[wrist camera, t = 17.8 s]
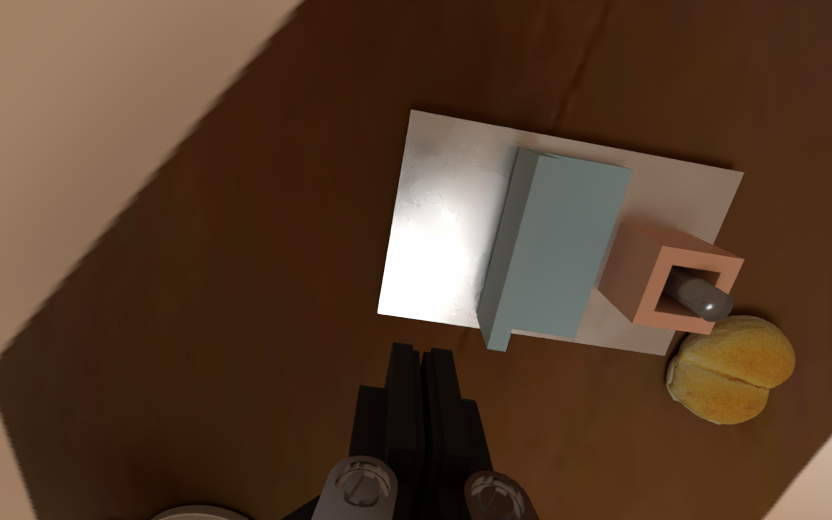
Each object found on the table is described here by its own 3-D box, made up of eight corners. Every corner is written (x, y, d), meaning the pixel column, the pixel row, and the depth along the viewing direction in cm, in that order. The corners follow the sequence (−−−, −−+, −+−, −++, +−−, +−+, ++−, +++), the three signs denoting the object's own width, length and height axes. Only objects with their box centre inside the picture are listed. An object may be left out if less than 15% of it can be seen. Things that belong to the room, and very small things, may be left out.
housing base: (378, 305, 32) (370, 370, 24) (410, 109, 27) (413, 112, 19) (655, 347, 34) (729, 419, 26) (731, 169, 29) (849, 194, 21)
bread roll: (793, 330, 34) (842, 359, 30) (723, 415, 37) (759, 451, 33) (708, 293, 32) (748, 318, 29) (642, 385, 35) (670, 418, 31)
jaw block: (597, 289, 31) (632, 323, 26) (620, 222, 29) (662, 245, 24) (663, 299, 31) (709, 334, 26) (689, 234, 29) (744, 259, 25)
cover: (476, 317, 31) (487, 348, 27) (519, 147, 27) (539, 155, 23) (569, 331, 31) (593, 364, 27) (625, 167, 27) (662, 178, 23)
